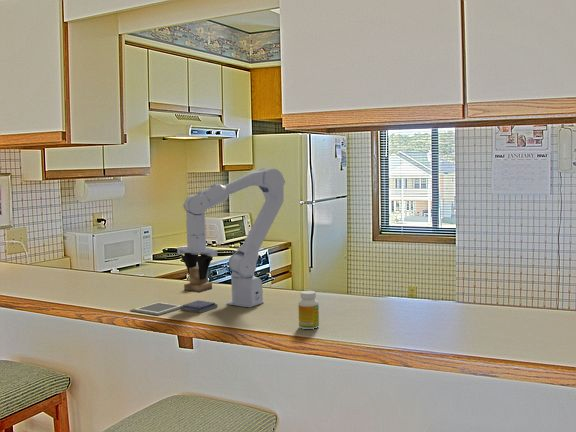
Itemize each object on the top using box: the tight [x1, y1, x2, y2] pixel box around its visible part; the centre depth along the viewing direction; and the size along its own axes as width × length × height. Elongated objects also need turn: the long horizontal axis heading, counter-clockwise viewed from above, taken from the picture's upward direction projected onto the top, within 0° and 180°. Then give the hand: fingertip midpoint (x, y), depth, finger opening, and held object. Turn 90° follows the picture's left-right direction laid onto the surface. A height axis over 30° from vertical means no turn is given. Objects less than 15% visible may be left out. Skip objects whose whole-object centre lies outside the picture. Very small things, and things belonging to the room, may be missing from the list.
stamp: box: [183, 266, 213, 293], centre depth 194 cm, size 6×6×7 cm
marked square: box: [129, 301, 183, 317], centre depth 196 cm, size 12×12×1 cm
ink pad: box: [180, 299, 218, 314], centre depth 195 cm, size 8×8×2 cm
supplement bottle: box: [298, 290, 320, 330], centre depth 171 cm, size 5×5×10 cm
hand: (197, 278), depth 194 cm, fingers closed on stamp, 3 cm apart
